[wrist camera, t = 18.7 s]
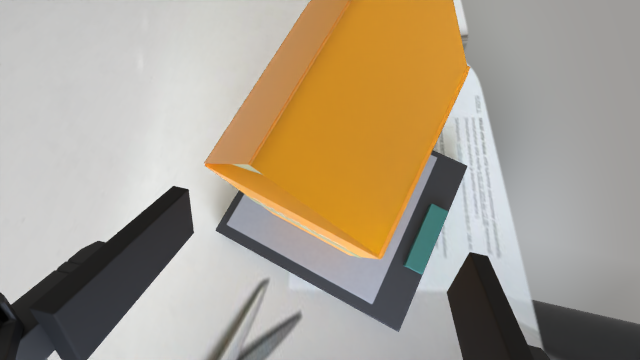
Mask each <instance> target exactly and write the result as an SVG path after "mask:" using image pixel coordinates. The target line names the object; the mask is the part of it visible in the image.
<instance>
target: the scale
mask: <svg viewBox="0 0 640 360" xmlns="http://www.w3.org/2000/svg"><path fill="white" fill-rule="evenodd" d="M466 168H467V166H466V165H464V164H462V163H460V162H458V161H455V160H453V159H451V158H449V157H446V156H444V155H442V154H440V153H438V152H435V151H433V150H432V153H431V155H430V157H429V159H428V161H427V163H426V165H425V168H424V170H423V172H422V174H421V176H420V178H419V181H418V183H417V185H416V187H415V189H414V191H413V193H412V196H411V198H410V200H409V202H408V204H407V206H406V209H405V211H404V213H403V215H402V217H401V219H400V222H399V224H398V226H397V228H396V230H395V232H394V234H393V237H392V239H391V241H390V243H389V245H388V247H387V250H386V252H385V254H384V256H383V258H381V260H380V259H372V258H364V257H362V258H358V257H355V256H350V255H348V254H346V253H344V252H342V251H340V250H339V249H337V248H335V247H333V246H331V245H329V244H328V243H326V242H324V241H322V240H320V239H318V238H316V237H315V236H313V235H311V234H309V233H307V232H305V231H304V230H302V229H300V228H298V227H296V226H294V225H292V224H291V223H289V222H287V221H285V220H283V219H281V218H280V217H278V216H276V215H274V214H272V213H271V212H270V211H268V210H267V209H265V208H264V207H263V206H261V205H259V204H257V203H256V202H254V201H253V200H251V199H250V198H249V197H247V196H246V194H244V193H243V192H241V191H240V190H239V191H238V193H237V195H236V196H235V198H234V200H233V201H232V203H231V205H230V207H229V208H228V210H227V212H226V213H225V215H224V217H223V218H222V220H221V222H220V223H219V225H218V227H217V228H216V231H217V232H219V233H221V234H223V235H224V236H226V237H228V238H230V239H232V240H233V241H235V242H237V243H239V244H241V245H242V246H244V247H246V248H248V249H250V250H251V251H253V252H255V253H257V254H259V255H260V256H262V257H264V258H266V259H268V260H269V261H271V262H273V263H275V264H277V265H278V266H280V267H282V268H284V269H286V270H288V271H289V272H291V273H293V274H295V275H297V276H298V277H300V278H302V279H304V280H306V281H307V282H309V283H311V284H313V285H315V286H316V287H318V288H320V289H322V290H324V291H325V292H327V293H329V294H331V295H333V296H334V297H336V298H338V299H340V300H342V301H343V302H345V303H347V304H349V305H351V306H352V307H354V308H356V309H358V310H360V311H362V312H363V313H365V314H367V315H369V316H371V317H372V318H374V319H376V320H378V321H380V322H381V323H383V324H385V325H387V326H389V327H390V328H392V329H394V330H396V331H398V332H399V330H400V328H401V325H402V323H403V320H404V318H405V316H406V313H407V311H408V308H409V306H410V304H411V301H412V299H413V296H414V294H415V291H416V289H417V287H418V284H419V282H420V279H421V277H422V275H423V272H424V270H425V267H426V265H427V263H428V260H429V258H430V255H431V253H432V250H433V248H434V246H435V243H436V241H437V238H438V236H439V234H440V231H441V229H442V226H443V224H444V221H445V219H446V217H447V214H448V212H449V209H450V207H451V205H452V202H453V200H454V197H455V195H456V192H457V190H458V188H459V185H460V183H461V180H462V178H463V176H464V173H465V171H466Z"/></svg>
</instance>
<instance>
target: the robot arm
mask: <svg viewBox="0 0 640 360" xmlns="http://www.w3.org/2000/svg"><path fill="white" fill-rule="evenodd" d="M193 233H194V231H193V222H192V214H191V206H190V198H189V190H188V189H185V188H180V187H176V186H173V187H172V188H170V189H169V190H168V191H167V192H166V193H164V194H163V195H162V196H161V197H160V198H159V199H157V200H156V201H155V202H154V203H153V204H151V205H150V206H149V207H148V208H147V209H145V210H144V211H143V212H142V213H141V214H140V215H138V216H137V217H136V218H135V219H134V220H132V221H131V222H130V223H129V224H128V225H126V226H125V227H124V228H123V229H122V230H120V231H119V232H118V233H117V234H116V235H115V236H113V237H112V238H111V239H110V240H109V241H107V242H106V243H105V242H101V241H97V242H95V243H93V244H91V245H89V246H87V247H84V248H82V249H81V250H80V251H78V252H77V253H76V254H75V255H73V256H72V257H71V258H70V259H69V260H68V262H65V263H63V264H62V265H61V266H60V267H58V269H57V270H56V271H53V272H52V273H51V274H49V275H48V276H47V277H46V278H44V279H43V280H42V281H41V282H39V283H38V284H37V285H36V286H34V287H33V288H32V289H31V290H29V291H28V292H27V293H26V294H24V295H23V296H22V297H20V298H19V299H18V300H17V301H15V302H14V303H13V304H11V305H10V303H9V302H8V300H7V299H6V298H5V296H4V295H3V294H2V293H0V360H48V359H47V358H48V357H49V356H50V354H51V353H52V352H53V351H54V350H56V352H57V353H58V355H59V356H60V358H61V359H62V360H87V359H88V358H89V357H90V356H91V354H92V353H93V352H94V351H95V350H96V348H97V347H98V346H99V345H100V344H101V342H102V341H103V340H104V339H105V338H106V337H107V335H108V334H109V333H110V332H111V331H112V329H113V328H114V327H115V326H116V325H117V323H118V322H119V321H120V320H121V319H122V318H123V316H124V315H125V314H126V313H127V312H128V310H129V309H130V308H131V307H132V306H133V304H134V303H135V302H136V301H137V300H138V299H139V297H140V296H141V295H142V294H143V293H144V291H145V290H146V289H147V288H148V287H149V285H150V284H151V283H152V282H153V281H154V280H155V278H156V277H157V276H158V275H159V274H160V272H161V271H162V270H163V269H164V268H165V266H166V265H167V264H168V263H169V262H170V261H171V259H172V258H173V257H174V256H175V255H176V253H177V252H178V251H179V250H180V249H181V247H182V246H183V245H184V244H185V243H186V242H187V240H188V239H189V238H190V237H191V236H192V234H193ZM447 295H448V300H449V304H450V308H451V312H452V316H453V320H454V324H455V328H456V332H457V336H458V341H459V345H460V349H461V353H462V357H463V360H550V359H549V357H548V356H547V355H546V354H545V353H544V351H543V350H542V349H541V348H538V347H534V346H529V345H527V343H526V340H525V338H524V336H523V334H522V331H521V329H520V327H519V325H518V323H517V320H516V318H515V316H514V314H513V311H512V309H511V307H510V305H509V302H508V300H507V298H506V296H505V294H504V291H503V289H502V287H501V285H500V282H499V280H498V278H497V276H496V274H495V271H494V269H493V267H492V265H491V262H490V260H489V258H488V256H485V255H480V254H476V253H471V252H470V253H469V254H468V256H467V258H466V260H465V261H464V263H463V265H462V267H461V268H460V270H459V272H458V274H457V275H456V277H455V279H454V281H453V282H452V284H451V286H450V288H449V289H448V291H447Z"/></svg>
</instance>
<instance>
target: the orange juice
mask: <svg viewBox="0 0 640 360" xmlns="http://www.w3.org/2000/svg"><path fill="white" fill-rule="evenodd" d="M469 69H470V67H469V66H467V63H466V59H465V54H464V49H463V45H462V40H461V35H460V31H459V26H458V21H457V16H456V12H455V7H454V2H453V0H311V1H310V2H309V3H308V4H307V6H306V8H305V9H304V11H303V12H302V14H301V15H300V17H299V18H298V20H297V21H296V23H295V24H294V26H293V27H292V29H291V31H290V32H289V34H288V35H287V37H286V38H285V40H284V41H283V43H282V44H281V46H280V47H279V49H278V50H277V52H276V54H275V55H274V57H273V58H272V60H271V61H270V63H269V64H268V66H267V67H266V69H265V70H264V72H263V73H262V75H261V77H260V78H259V80H258V81H257V83H256V84H255V86H254V87H253V89H252V90H251V92H250V93H249V95H248V96H247V98H246V100H245V101H244V103H243V104H242V106H241V107H240V109H239V110H238V112H237V113H236V115H235V116H234V118H233V120H232V121H231V123H230V124H229V126H228V127H227V129H226V130H225V132H224V133H223V135H222V136H221V138H220V139H219V141H218V143H217V144H216V146H215V147H214V149H213V150H212V152H211V153H210V155H209V156H208V158H207V159H206V161H205V162H204V163H206V164H205V166H206V167H207V168H209V169H210V170H212V171H213V172H215V173H216V174H217V175H219V176H220V177H222V178H223V179H224V180H226V181H227V182H229V183H230V184H231V185H233V186H234V187H236V188H237V189H239V190H240V191H241V192H243V193H244V194H246V196H247V197H249V198H250V199H251V200H253V201H254V202H256V203H257V204H259V205H261V206H263V207H264V208H265V209H267V210H268V211H270V212H271V213H272V214H274V215H276V216H278V217H280V218H281V219H283V220H285V221H287V222H289V223H291V224H292V225H294V226H296V227H298V228H300V229H302V230H304V231H305V232H307V233H309V234H311V235H313V236H315V237H316V238H318V239H320V240H322V241H324V242H326V243H328V244H329V245H331V246H333V247H335V248H337V249H339V250H340V251H342V252H344V253H346V254H348V255H350V256H355V257H358V258H362V257H364V258H372V259H380V260H381V258H383V256H384V254H385V252H386V250H387V247H388V245H389V243H390V241H391V239H392V237H393V234H394V232H395V230H396V228H397V226H398V224H399V222H400V219H401V217H402V215H403V213H404V211H405V209H406V206H407V204H408V202H409V200H410V198H411V196H412V193H413V191H414V189H415V187H416V185H417V183H418V181H419V178H420V176H421V174H422V172H423V170H424V168H425V165H426V163H427V161H428V159H429V157H430V155H431V153H432V150H433V148H434V146H435V144H436V142H437V140H438V137H439V135H440V133H441V131H442V129H443V127H444V125H445V122H446V120H447V118H448V116H449V114H450V112H451V109H452V107H453V105H454V103H455V101H456V99H457V97H458V94H459V92H460V90H461V88H462V86H463V84H464V81H465V79H466V77H467V75H468V71H469Z"/></svg>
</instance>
